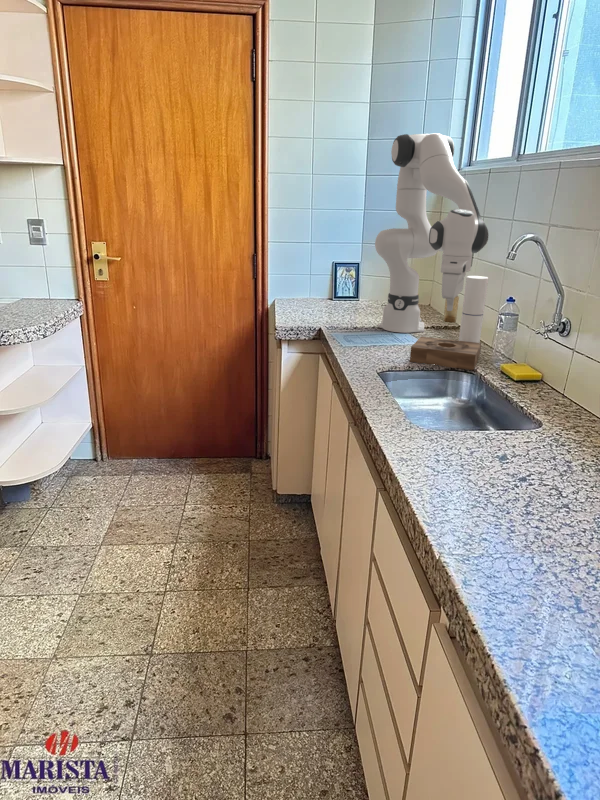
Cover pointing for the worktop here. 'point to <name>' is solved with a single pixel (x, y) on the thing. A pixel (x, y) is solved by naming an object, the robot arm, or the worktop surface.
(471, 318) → the cylindrical container
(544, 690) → the worktop surface
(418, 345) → the block
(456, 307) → the bushing
